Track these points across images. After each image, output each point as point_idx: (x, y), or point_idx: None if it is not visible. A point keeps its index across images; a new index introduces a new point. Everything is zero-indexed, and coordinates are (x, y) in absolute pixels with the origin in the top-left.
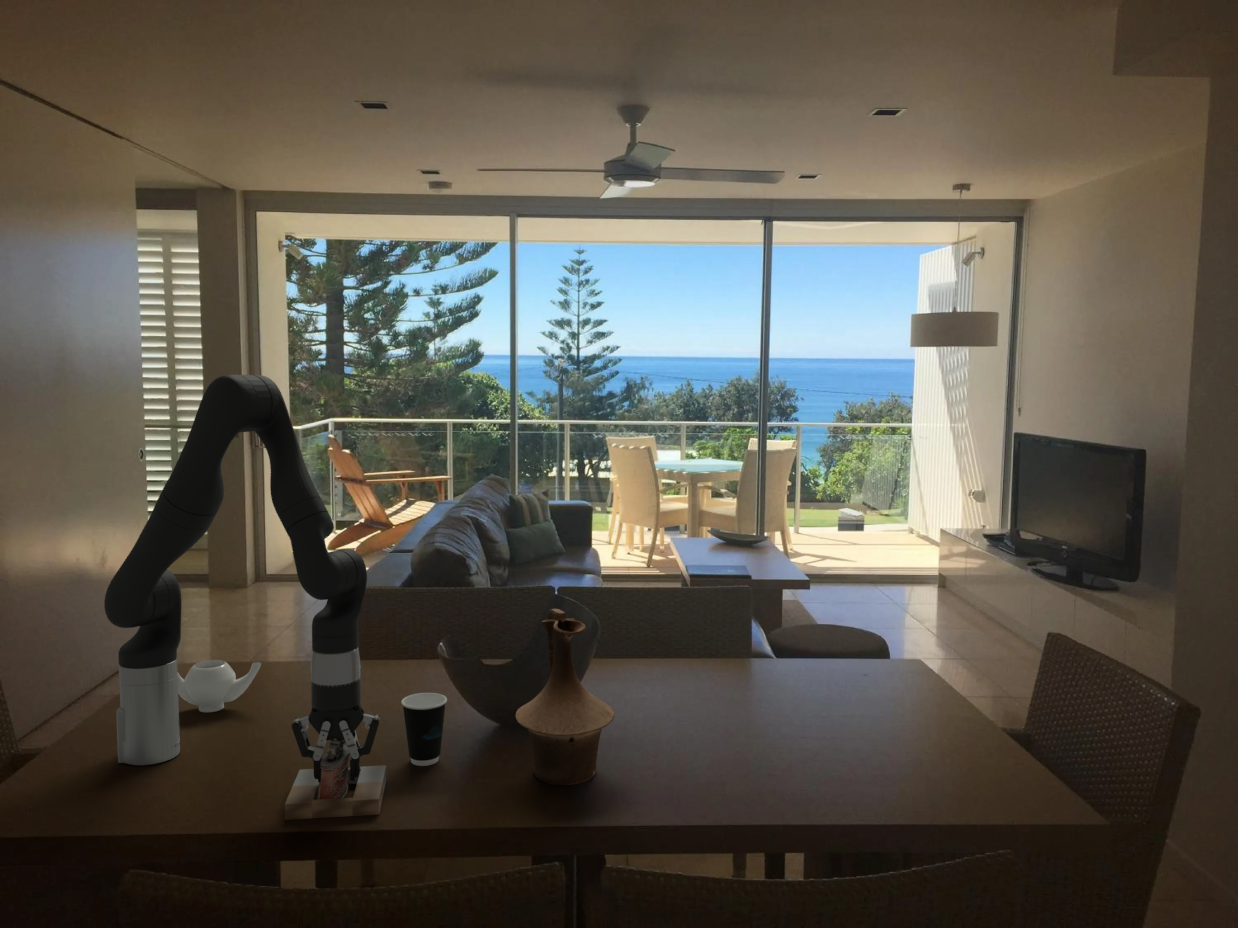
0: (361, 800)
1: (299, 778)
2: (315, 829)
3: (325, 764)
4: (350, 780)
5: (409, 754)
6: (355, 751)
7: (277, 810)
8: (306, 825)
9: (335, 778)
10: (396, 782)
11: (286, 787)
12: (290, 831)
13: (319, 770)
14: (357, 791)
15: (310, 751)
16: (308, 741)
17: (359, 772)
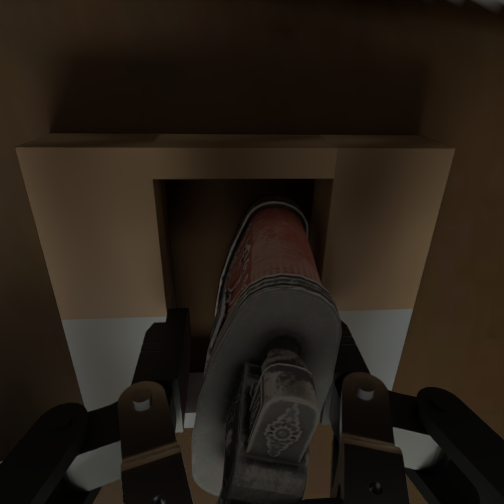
0: (104, 147)
1: (386, 361)
2: (299, 17)
3: (310, 301)
4: (187, 308)
5: None
6: (135, 419)
7: (440, 216)
8: (338, 68)
9: (245, 271)
10: (66, 372)
11: (404, 362)
12: (402, 14)
13: None
14: (146, 238)
15: (410, 423)
16: (438, 498)
17: (145, 337)
